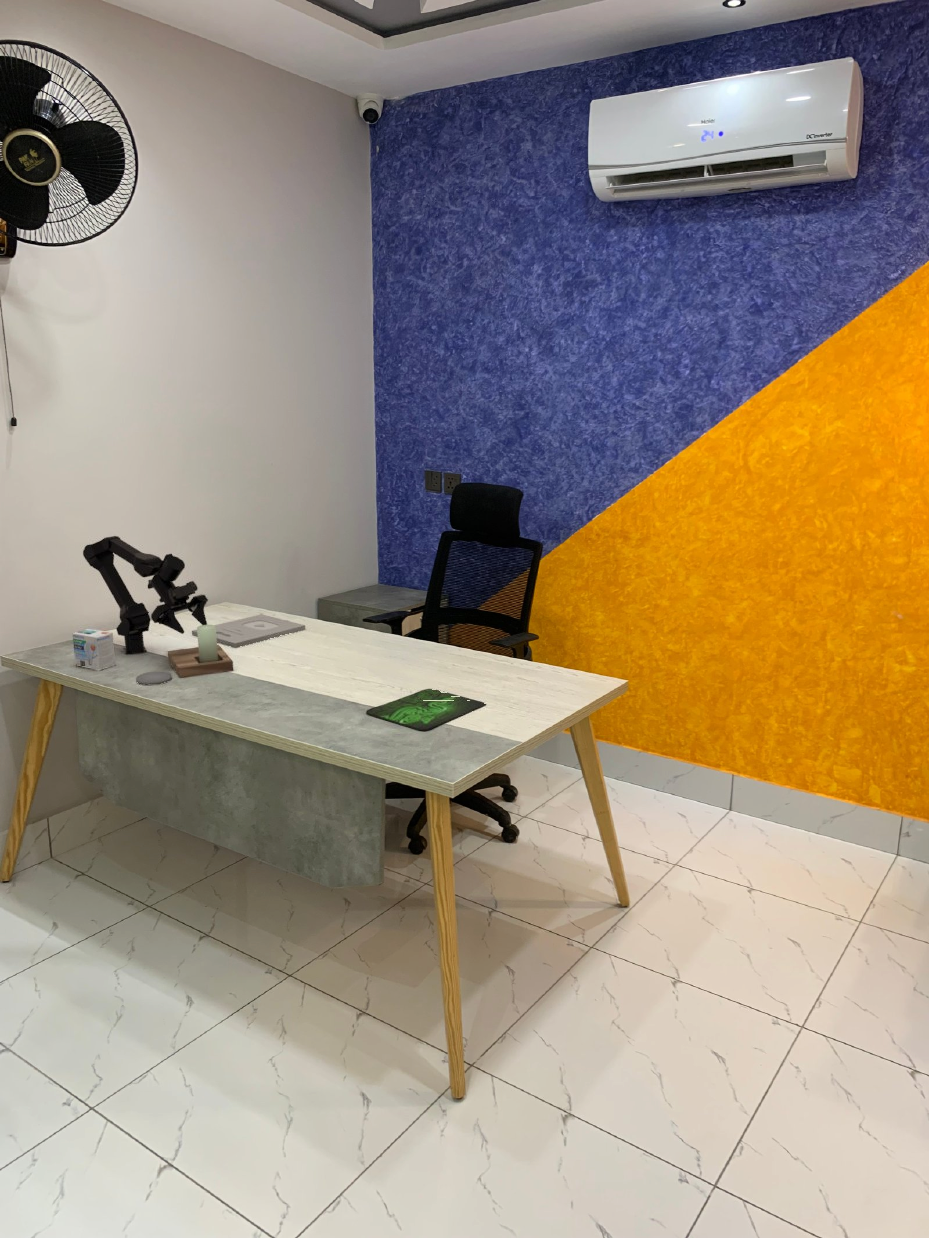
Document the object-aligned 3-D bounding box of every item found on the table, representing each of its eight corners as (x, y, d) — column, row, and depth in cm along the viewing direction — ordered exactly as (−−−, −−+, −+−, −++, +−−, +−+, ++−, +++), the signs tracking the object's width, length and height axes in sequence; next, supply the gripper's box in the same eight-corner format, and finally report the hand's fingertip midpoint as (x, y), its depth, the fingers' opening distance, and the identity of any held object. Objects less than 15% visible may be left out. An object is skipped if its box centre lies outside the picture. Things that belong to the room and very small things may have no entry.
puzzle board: (168, 660, 289) (167, 651, 288) (219, 653, 296) (218, 644, 295) (179, 677, 272) (178, 668, 271) (233, 670, 279) (232, 661, 278)
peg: (198, 666, 283) (195, 626, 279) (216, 664, 285) (213, 623, 282) (202, 671, 278) (198, 630, 274) (220, 669, 280) (217, 628, 277)
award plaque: (192, 636, 317) (191, 630, 317) (261, 619, 340) (261, 614, 339) (235, 649, 302) (234, 643, 302) (305, 631, 324) (305, 625, 324)
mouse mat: (429, 688, 263) (429, 685, 263) (490, 704, 250) (490, 701, 250) (362, 715, 243) (362, 711, 242) (424, 734, 229) (424, 730, 229)
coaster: (134, 677, 272) (133, 674, 272) (168, 672, 277) (168, 669, 276) (138, 687, 264) (138, 684, 263) (174, 682, 268) (174, 679, 268)
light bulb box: (75, 666, 283) (71, 632, 280) (92, 660, 289) (89, 627, 286) (99, 671, 278) (95, 637, 275) (116, 665, 284) (113, 632, 281)
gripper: (153, 579, 272) (182, 620, 269) (201, 569, 287) (229, 607, 284) (138, 602, 278) (166, 642, 275) (186, 590, 293) (213, 628, 290)
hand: (195, 629), depth 281 cm, fingers open, 9 cm apart
